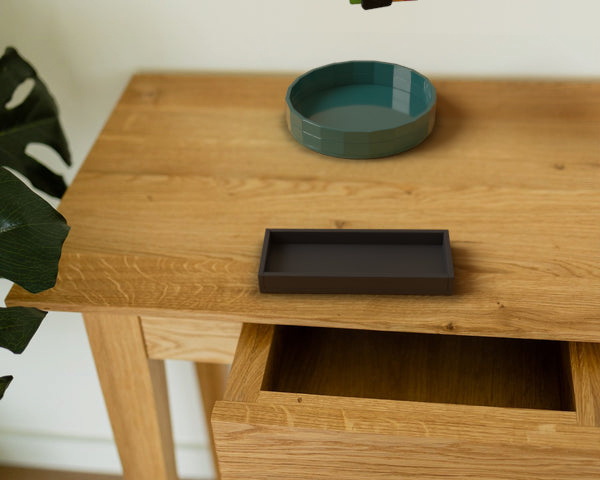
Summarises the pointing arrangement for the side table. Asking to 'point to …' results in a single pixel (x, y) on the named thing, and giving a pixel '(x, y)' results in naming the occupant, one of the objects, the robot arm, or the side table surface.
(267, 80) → the side table surface
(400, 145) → the bowl
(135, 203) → the side table surface
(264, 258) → the tray
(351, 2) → the popsicle
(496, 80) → the side table surface
